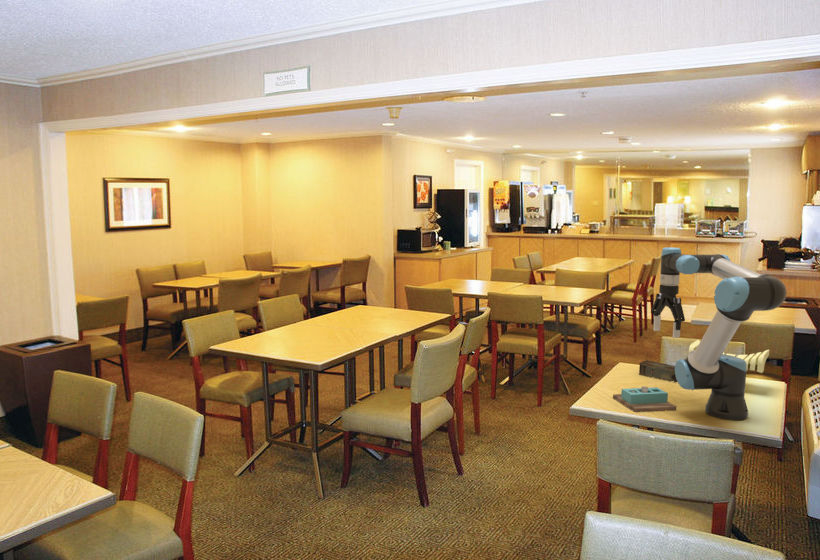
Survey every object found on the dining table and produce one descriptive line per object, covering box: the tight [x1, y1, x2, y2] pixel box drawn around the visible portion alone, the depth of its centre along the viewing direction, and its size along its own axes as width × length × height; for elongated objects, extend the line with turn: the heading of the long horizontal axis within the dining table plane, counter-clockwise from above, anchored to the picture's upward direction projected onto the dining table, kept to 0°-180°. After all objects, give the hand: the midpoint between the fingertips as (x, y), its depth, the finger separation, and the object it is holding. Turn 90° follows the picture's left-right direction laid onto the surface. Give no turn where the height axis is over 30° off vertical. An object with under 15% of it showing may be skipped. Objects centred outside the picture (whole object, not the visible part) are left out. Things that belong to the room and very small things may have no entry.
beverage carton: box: [638, 359, 677, 383], centre depth 302 cm, size 8×19×7 cm, turn 44°
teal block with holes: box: [620, 386, 669, 404], centre depth 262 cm, size 16×8×4 cm, turn 99°
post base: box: [612, 386, 678, 413], centre depth 262 cm, size 18×18×7 cm
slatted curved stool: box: [687, 339, 770, 374], centre depth 288 cm, size 30×16×18 cm, turn 52°
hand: (666, 334), depth 270 cm, fingers open, 13 cm apart
